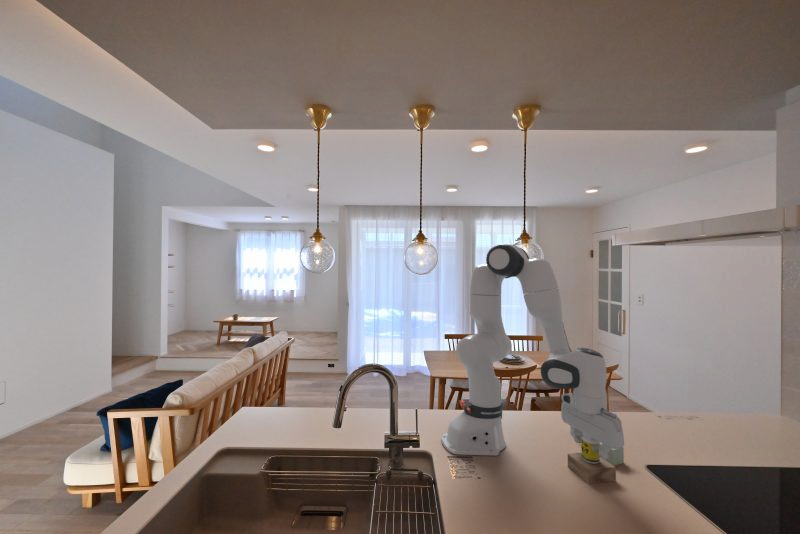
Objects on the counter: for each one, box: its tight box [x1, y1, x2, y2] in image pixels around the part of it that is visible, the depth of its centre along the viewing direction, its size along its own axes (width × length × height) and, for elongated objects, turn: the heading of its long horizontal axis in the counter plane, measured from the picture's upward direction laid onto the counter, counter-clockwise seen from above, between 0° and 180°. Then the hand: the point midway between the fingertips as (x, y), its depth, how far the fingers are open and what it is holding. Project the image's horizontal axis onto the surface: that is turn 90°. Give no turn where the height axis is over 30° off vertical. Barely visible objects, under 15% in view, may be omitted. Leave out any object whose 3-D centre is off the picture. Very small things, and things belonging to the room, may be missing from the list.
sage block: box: [599, 442, 625, 467], centre depth 110 cm, size 5×5×5 cm
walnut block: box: [567, 452, 617, 485], centre depth 102 cm, size 9×9×4 cm
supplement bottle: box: [581, 431, 600, 464], centre depth 103 cm, size 5×5×8 cm
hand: (590, 449), depth 102 cm, fingers open, 8 cm apart
